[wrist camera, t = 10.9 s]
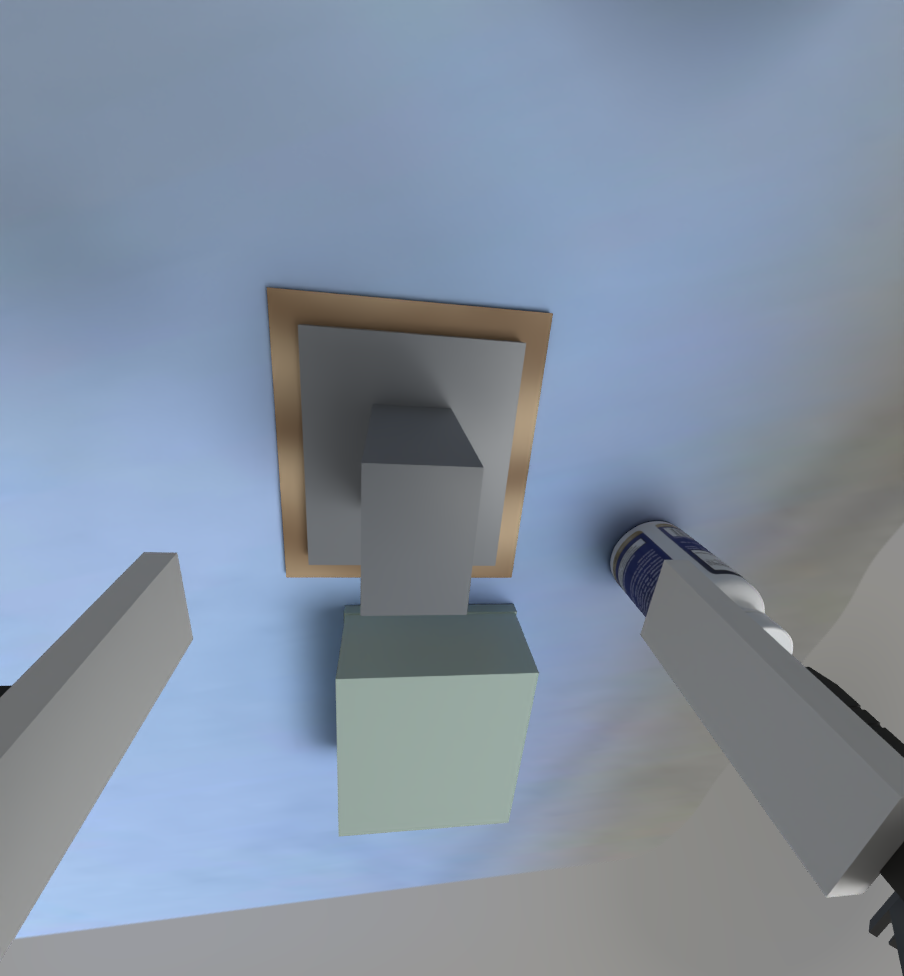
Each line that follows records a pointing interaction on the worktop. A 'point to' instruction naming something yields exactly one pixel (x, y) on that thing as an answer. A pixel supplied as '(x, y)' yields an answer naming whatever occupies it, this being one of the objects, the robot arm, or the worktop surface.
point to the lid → (406, 459)
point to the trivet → (399, 317)
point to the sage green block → (431, 718)
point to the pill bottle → (659, 541)
